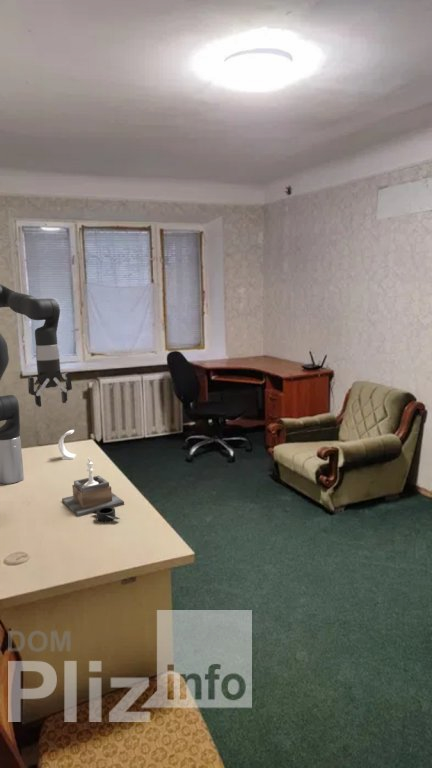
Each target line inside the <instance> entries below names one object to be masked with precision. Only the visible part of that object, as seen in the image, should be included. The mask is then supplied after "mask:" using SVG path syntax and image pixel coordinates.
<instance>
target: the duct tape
mask: <svg viewBox="0 0 432 768" xmlns="http://www.w3.org/2000/svg"><path fill="white" fill-rule="evenodd" d="M92 514H95V515H96V520H97V522H99V523H110V522H113V521H114V520H121V518H120V517H117V516H116V507H103V508H100V509H98V510H95V511H94V512H93V513H92Z"/></svg>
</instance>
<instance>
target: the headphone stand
mask: <svg viewBox="0 0 432 768" xmlns="http://www.w3.org/2000/svg"><path fill="white" fill-rule="evenodd" d="M73 433H75V429H70V430H68V431H66V432H65V433H64V434H63V435H62V436H61V437H60V438H59V440H58V445H57V447H58V451H59V452H60V454H61V455H62V457H61V460H74V459H75V458H76V457H77V454H76V453H71V452H69V451H68V450H67V449H66V447H65V444H64V442H65V441H64V440H65V438H66V436H68V435H72V434H73Z"/></svg>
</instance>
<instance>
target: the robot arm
mask: <svg viewBox="0 0 432 768" xmlns="http://www.w3.org/2000/svg"><path fill="white" fill-rule="evenodd" d="M0 308H10V310H11V311H12V312H14V313H16V314H20V315H23V316H26V317H27V318H28V319H30V320H33V321H44V323H43V325H42V326H39V327H37V328H36V329H35V330H34V337H35V340H34V341H35V357H36V359H35V361H36V368H37V369H36V371H37V376H28V378H27V383H28V384H27V387H28V388H27V389H28V394H29V395H31V396H34V400H35V403H34V404H35V405H36V406H37V407H39V408H40V407H42V400H41V399H42V398H41V393H42V392H43V391H44V389H45V388H46V389H49V388H56V387H57V388H58V389H60V390H61V403H63V404H66V403H67V401H68V392H69V391H71V390H72V389H73V387H72V386H73V385H72V378H71V373H69V372H64V373H62V372H61V364H60V363H61V361H60V360H61V359H60V351H59V347H58V346H59V345H58V335H57V331H58V327H59V322H60V321H59V319H60V317H61V308H60V305H59V303H58V301H57V300H56V299H54V298H37V297H35V296H32V295H30V294H26V293H21V292H18V291H14V290H13V289H10V288H9V287H7V286H4V285H3V284H0ZM9 358H10V357H9V348H8V343H7V341H6V339H5V338H4V336H3V335H2V333H0V381H1V380H2V377H4V374H5V371H6V369H7V367H8V365H9V361H10V359H9ZM62 378H63V380H65V386H64V385H63V383H61V380H62ZM36 382H38V383H39V384H38V385H37V387H36V389H35V384H36ZM3 421H5V423H3V425H1V426H0V484H3V485H4V484H6V485H7V484H8V485H9V484H15V483H19V482H21V481H23V480H24V479H25V473H24V463H23V462H24V461H23V453H22V442H21V434H20V432H21V421H20V404H19V401H18V398H17V397H16V395H13V394H9V395H8V394H7V395H1V396H0V422H3Z"/></svg>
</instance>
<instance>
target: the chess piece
mask: <svg viewBox="0 0 432 768" xmlns="http://www.w3.org/2000/svg"><path fill="white" fill-rule="evenodd" d="M87 460H88V462H86V466H87V468H88V469H86V471H87V472H88V478H89V481H88V482H87V483H85V484H84V487H88V486H92V485H96V484H99V483H98V482H96V481H94V480H93V477H94V475H93V471H94V469H93V464H94V463H93V462H92V461H91V457H89V456H88V459H87Z"/></svg>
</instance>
